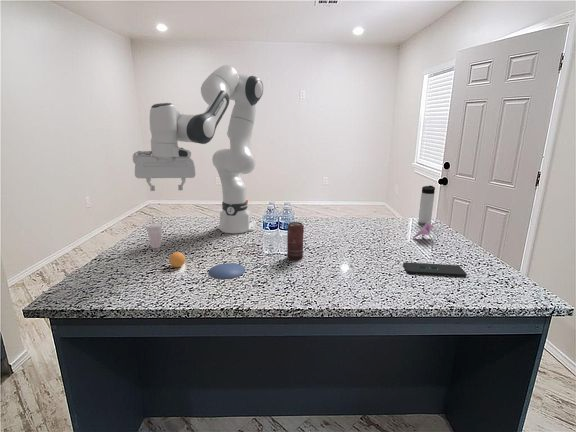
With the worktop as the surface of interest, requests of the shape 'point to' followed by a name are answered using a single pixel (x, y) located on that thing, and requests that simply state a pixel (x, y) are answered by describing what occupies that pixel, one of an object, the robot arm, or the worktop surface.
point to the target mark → (227, 271)
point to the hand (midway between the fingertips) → (166, 190)
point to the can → (295, 241)
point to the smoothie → (154, 234)
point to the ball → (177, 259)
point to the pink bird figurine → (425, 230)
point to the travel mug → (426, 204)
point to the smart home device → (434, 269)
